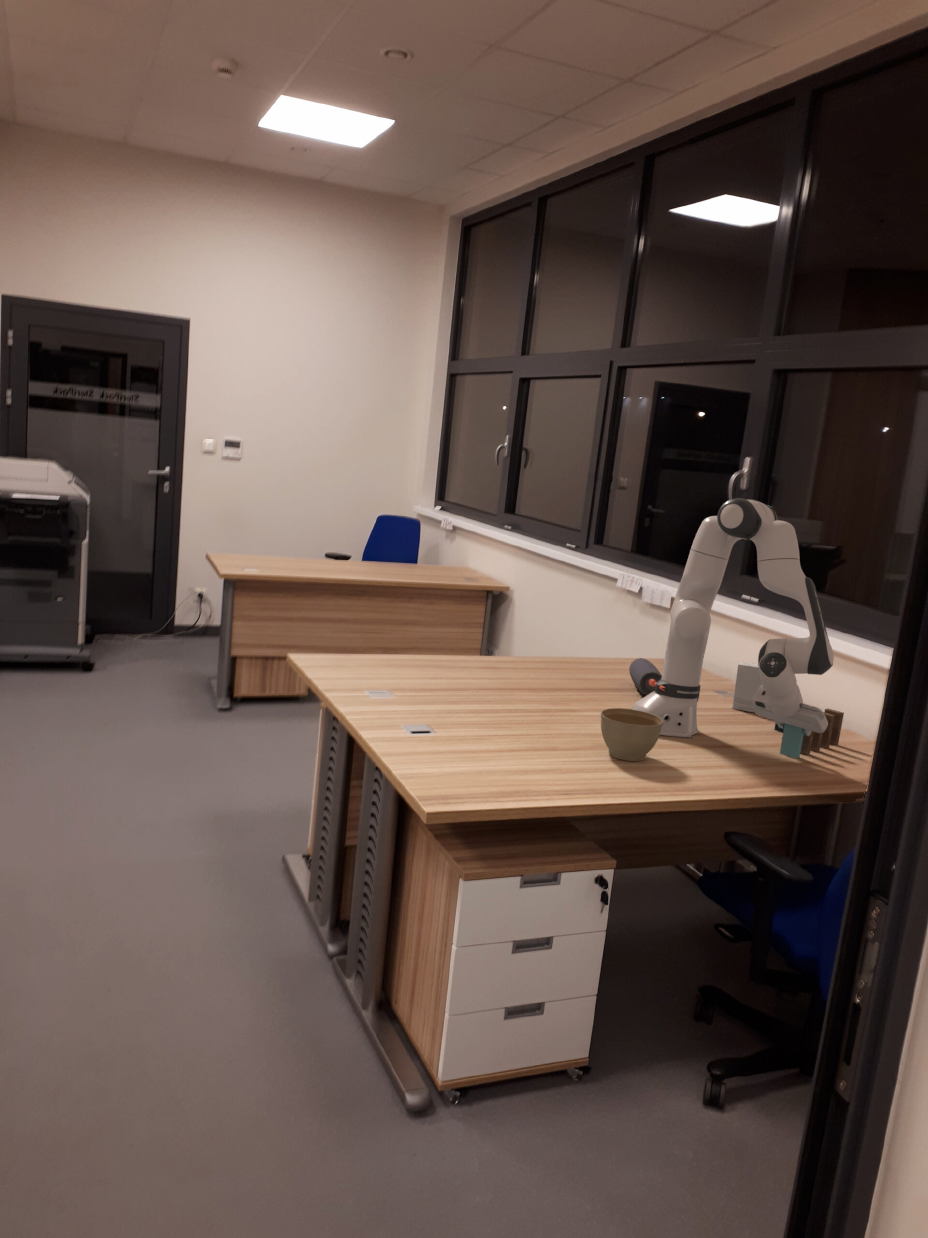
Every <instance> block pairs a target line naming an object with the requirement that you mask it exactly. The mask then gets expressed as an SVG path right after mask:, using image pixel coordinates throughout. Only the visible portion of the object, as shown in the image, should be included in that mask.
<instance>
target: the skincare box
mask: <svg viewBox="0 0 928 1238" xmlns="http://www.w3.org/2000/svg"><path fill="white" fill-rule="evenodd" d="M736 671H737V672H736V677H735V678H736V679H735V685H734V693H733V702H732V708H731V709H733V710H737V711H742V712H743V711H744V712H749V713H755V711H754V709H753V703H752V699H753V696H754V694H755V693H756V691H757V690H758V688H759V687H760V685H761V684H762V683H761V679H760V673H759V666H758V663H755V662H753V663H752V662H747V661H740V662H738V664H737V670H736ZM755 714H756V713H755Z"/></svg>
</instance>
